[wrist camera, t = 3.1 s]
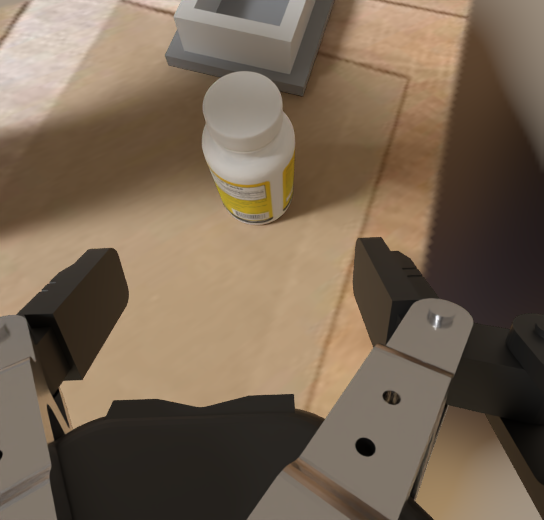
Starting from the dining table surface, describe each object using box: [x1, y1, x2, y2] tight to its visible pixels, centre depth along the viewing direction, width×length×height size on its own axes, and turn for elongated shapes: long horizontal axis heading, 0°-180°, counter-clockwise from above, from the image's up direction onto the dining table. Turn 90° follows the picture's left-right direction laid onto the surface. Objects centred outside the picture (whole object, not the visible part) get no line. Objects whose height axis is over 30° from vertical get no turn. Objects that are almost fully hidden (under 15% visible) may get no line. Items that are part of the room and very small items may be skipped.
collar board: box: [165, 0, 335, 96], centre depth 29 cm, size 12×11×4 cm
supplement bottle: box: [202, 71, 295, 225], centre depth 22 cm, size 5×5×10 cm
